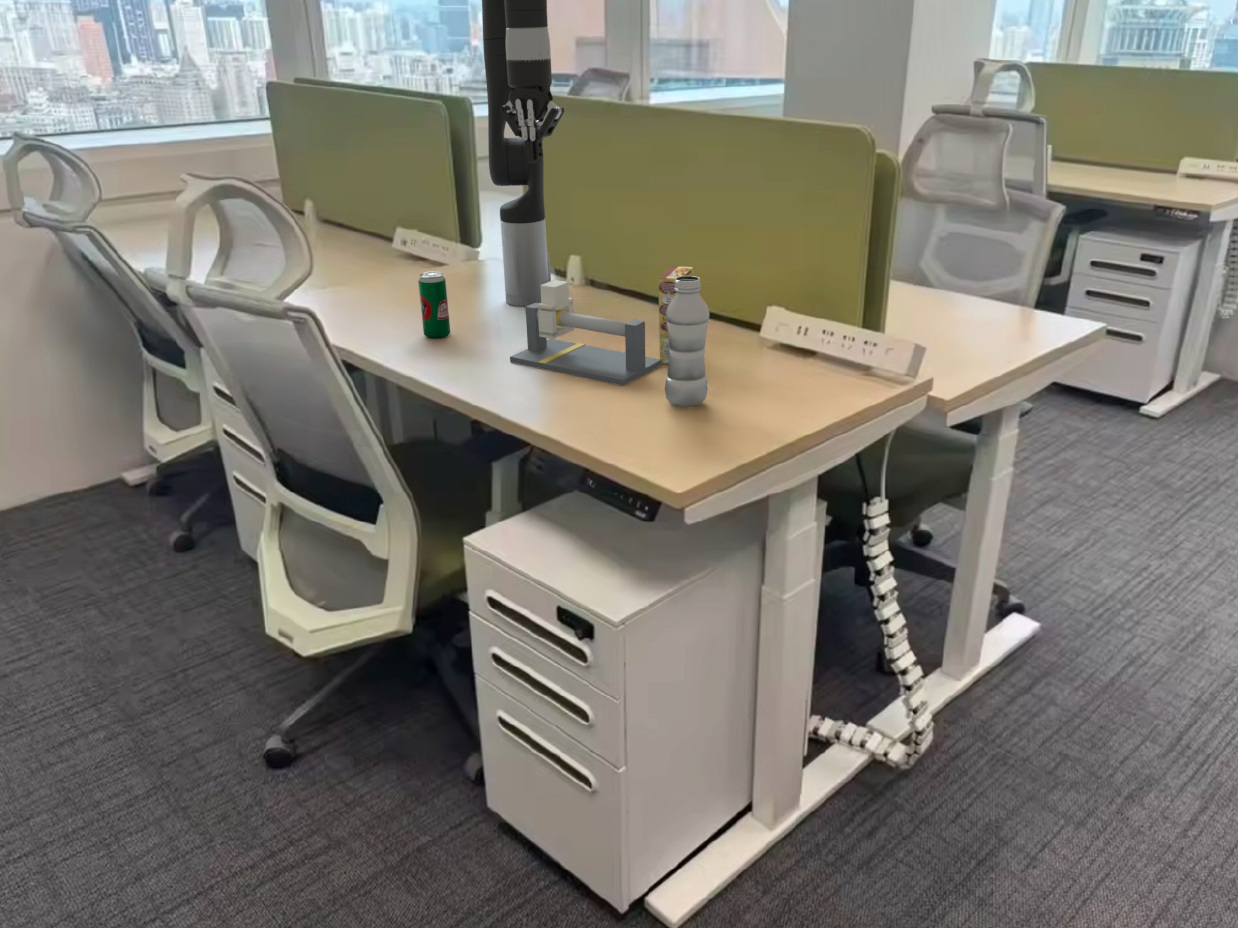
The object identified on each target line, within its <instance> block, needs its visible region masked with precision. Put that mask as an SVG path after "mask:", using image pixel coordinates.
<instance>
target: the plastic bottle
mask: <svg viewBox="0 0 1238 928" xmlns="http://www.w3.org/2000/svg"><path fill="white" fill-rule="evenodd" d="M701 288H702V287H701V278H700V277H699V276H695V275H693V276H680V277H677V278H675V288H674V291H675V292H677V293H676V296H675V297H674V298H673V300H672V301H671V303H670V304H669V306H668V308H667V311H666V320H667V328H668V336H669V347H670V349H669V364H667V365H668V367H667V375H666V379H665V385H664V394H665V398H666V400H667V401H668V403H669V404H671V405H672V406H674V407H678V408H679V407H680V408H691V407H697V406H700V405H702V404H703V403H704V402H705V400H706V399H707V395H708V391H709V387H708V380H707V379H708V378H707V375H706V362H705V360H706V359H705V350H706V348H705V347H706V342H707V341H706V339H707V334H708V333H707V332H708V326H709V322H710V321H709V320H710V314H711V313H710V311H709V307H708V305H707V303H706V301H705V300H704V298H702V296H701V295H700V292H701V291H702V290H701Z"/></svg>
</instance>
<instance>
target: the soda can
mask: <svg viewBox="0 0 1238 928" xmlns="http://www.w3.org/2000/svg"><path fill="white" fill-rule="evenodd" d="M417 280H418V281H417V282H418V293H419V303H420V311H421V319H422V328H423V329H422V330H423V335H424V337H426V338H427V339H431V340H440V339H445V338H447V337H448V336H450V335H451V324H450V323H451V322H450V314H449V302H448V291H447V282H446V278H445V277H444V273H443V272H441V271H434V270H433V271H425V272H422V273H420V274H419V278H418V279H417Z"/></svg>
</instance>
